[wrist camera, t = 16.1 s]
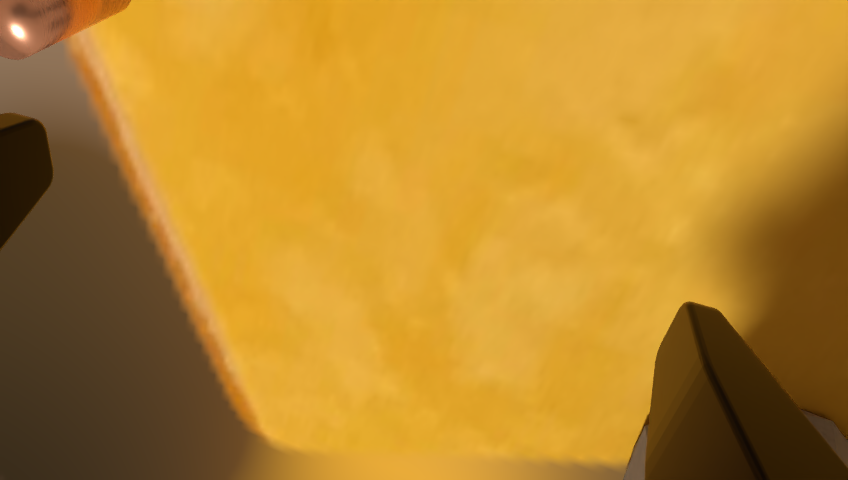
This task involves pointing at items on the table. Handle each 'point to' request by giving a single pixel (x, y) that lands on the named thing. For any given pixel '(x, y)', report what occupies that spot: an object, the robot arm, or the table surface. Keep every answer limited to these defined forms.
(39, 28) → the clamp
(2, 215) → the robot arm
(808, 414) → the coffeepot
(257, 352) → the table surface
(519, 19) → the table surface
